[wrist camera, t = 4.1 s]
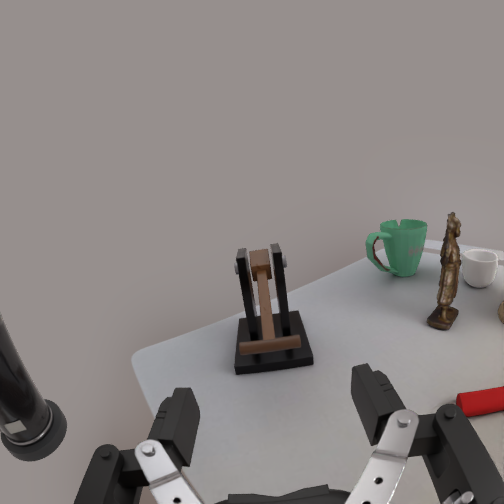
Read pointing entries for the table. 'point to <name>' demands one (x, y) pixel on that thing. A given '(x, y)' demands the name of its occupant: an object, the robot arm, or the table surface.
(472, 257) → the teacup
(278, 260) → the bracket
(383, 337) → the table surface
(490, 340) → the table surface
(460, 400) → the lighter
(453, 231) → the figurine
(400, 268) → the mug
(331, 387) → the table surface
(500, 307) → the lantern
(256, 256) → the lever
